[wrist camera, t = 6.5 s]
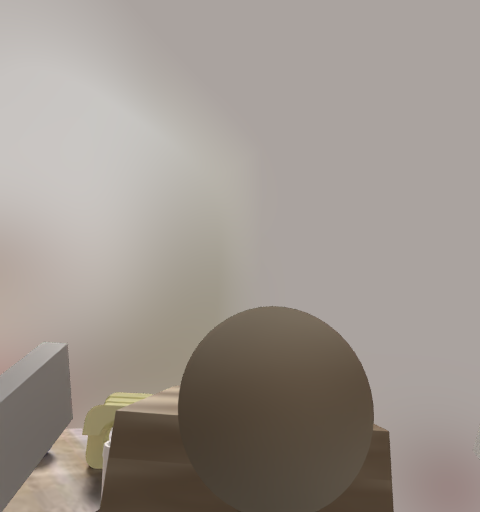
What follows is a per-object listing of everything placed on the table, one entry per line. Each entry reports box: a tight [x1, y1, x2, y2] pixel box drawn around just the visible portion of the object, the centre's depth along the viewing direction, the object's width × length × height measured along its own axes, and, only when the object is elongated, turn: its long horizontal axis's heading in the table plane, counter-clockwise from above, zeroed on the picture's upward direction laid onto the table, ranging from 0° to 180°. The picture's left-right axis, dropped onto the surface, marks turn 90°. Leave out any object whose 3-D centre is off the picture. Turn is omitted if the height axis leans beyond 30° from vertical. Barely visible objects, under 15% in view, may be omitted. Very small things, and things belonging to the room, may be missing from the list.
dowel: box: [178, 306, 374, 512], centre depth 20 cm, size 28×5×5 cm, turn 0°
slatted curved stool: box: [82, 392, 153, 469], centre depth 104 cm, size 30×16×18 cm, turn 11°
